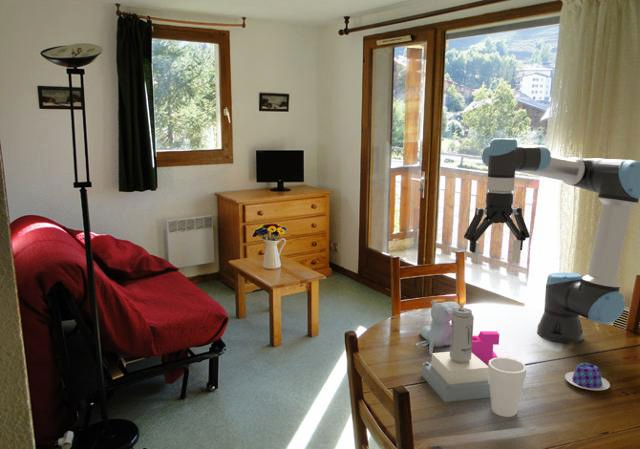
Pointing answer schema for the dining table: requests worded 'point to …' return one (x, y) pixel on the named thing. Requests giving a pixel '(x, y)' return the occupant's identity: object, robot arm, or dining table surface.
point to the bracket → (485, 345)
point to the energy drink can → (461, 335)
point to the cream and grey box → (457, 378)
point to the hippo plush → (439, 325)
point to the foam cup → (505, 385)
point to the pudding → (587, 377)
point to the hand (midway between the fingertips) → (495, 261)
